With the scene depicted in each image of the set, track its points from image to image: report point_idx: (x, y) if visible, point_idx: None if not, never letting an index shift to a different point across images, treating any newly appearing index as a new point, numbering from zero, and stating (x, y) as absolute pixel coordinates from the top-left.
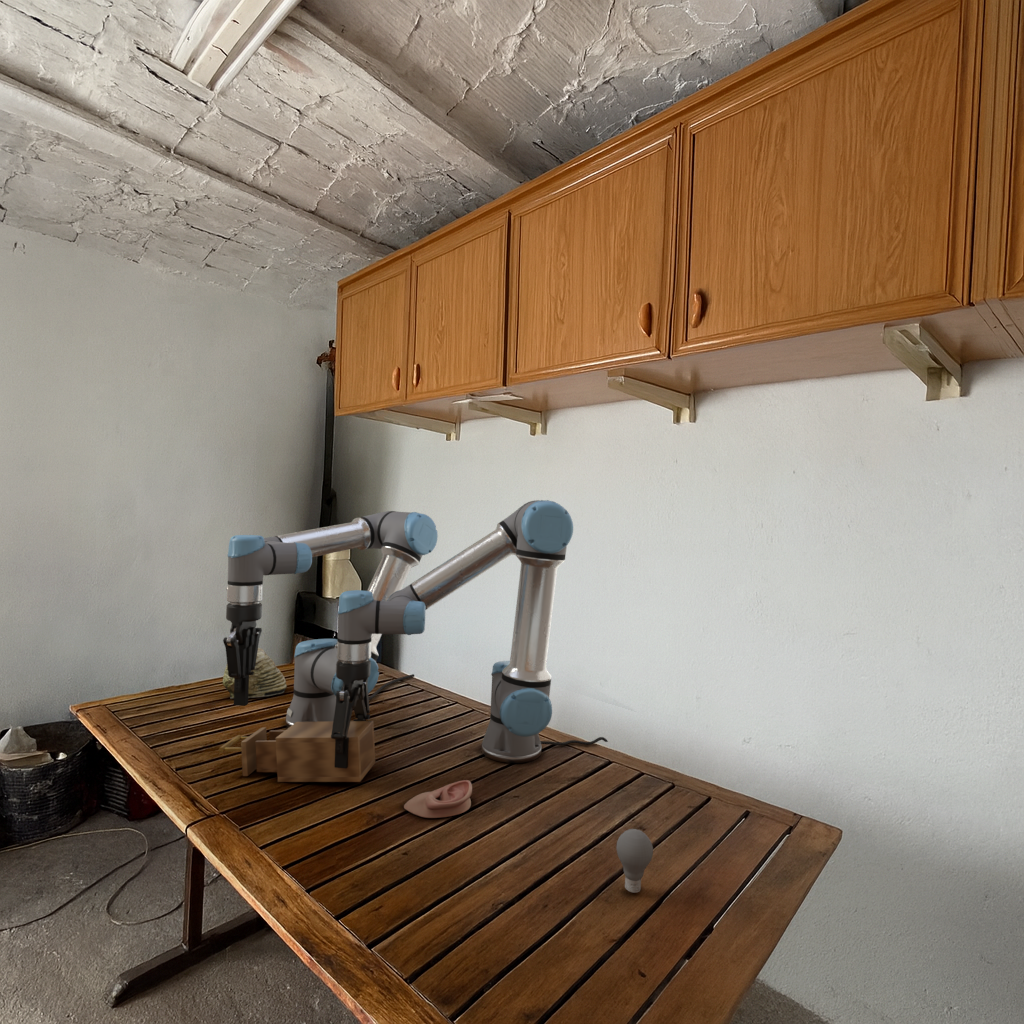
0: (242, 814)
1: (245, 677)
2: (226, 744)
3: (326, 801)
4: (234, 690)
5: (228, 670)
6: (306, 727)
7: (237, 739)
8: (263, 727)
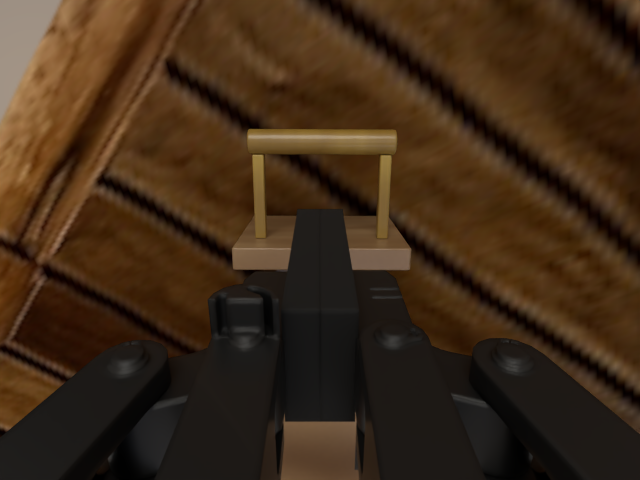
0: (60, 319)
1: (295, 414)
2: (280, 147)
3: None
4: (247, 279)
5: (41, 413)
6: (342, 468)
7: (358, 153)
8: (409, 258)
